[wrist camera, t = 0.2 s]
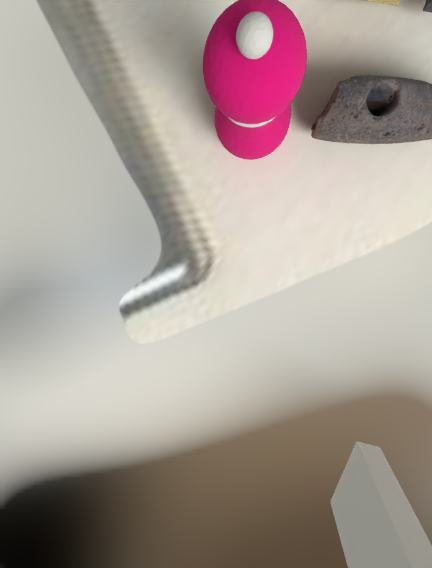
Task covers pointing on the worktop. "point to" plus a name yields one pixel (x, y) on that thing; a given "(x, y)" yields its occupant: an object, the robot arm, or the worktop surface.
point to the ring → (428, 6)
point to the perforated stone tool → (377, 111)
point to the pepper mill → (254, 74)
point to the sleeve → (387, 2)
